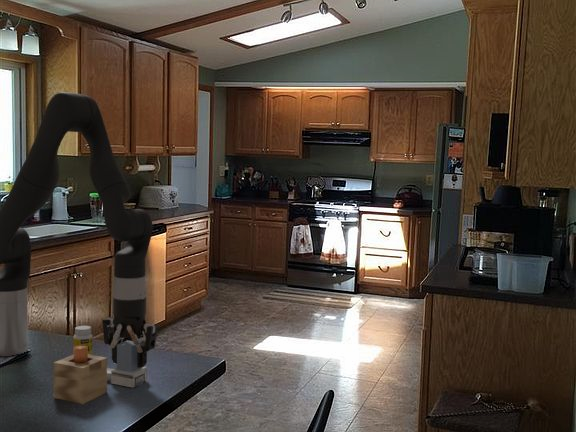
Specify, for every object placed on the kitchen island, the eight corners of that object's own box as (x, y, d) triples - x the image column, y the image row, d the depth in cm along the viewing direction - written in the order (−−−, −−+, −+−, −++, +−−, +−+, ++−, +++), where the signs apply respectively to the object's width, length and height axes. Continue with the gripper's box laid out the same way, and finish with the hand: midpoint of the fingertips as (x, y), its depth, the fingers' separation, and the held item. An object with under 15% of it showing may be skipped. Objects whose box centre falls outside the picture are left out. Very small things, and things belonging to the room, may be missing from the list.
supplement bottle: (80, 363, 167) (80, 331, 166) (69, 359, 170) (69, 327, 169) (96, 358, 171) (96, 327, 170) (85, 355, 173) (85, 324, 173)
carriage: (111, 383, 152) (111, 345, 152) (125, 376, 158) (126, 338, 157) (132, 387, 150) (132, 348, 149) (146, 379, 155) (147, 342, 154)
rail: (73, 374, 158) (73, 366, 158) (82, 371, 161) (82, 363, 161) (136, 387, 151) (136, 378, 151) (143, 382, 154) (143, 374, 154)
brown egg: (70, 361, 144) (70, 348, 144) (79, 358, 147) (79, 345, 147) (81, 363, 143) (81, 350, 143) (90, 359, 146) (90, 346, 145)
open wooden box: (53, 397, 144) (53, 362, 143) (78, 386, 151) (78, 352, 150) (83, 404, 141) (83, 368, 140) (106, 391, 148) (106, 357, 147)
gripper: (94, 294, 151) (94, 364, 153) (146, 301, 146) (145, 374, 147) (114, 288, 158) (114, 356, 160) (164, 295, 153) (164, 364, 154)
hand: (129, 364), depth 154 cm, fingers open, 6 cm apart
